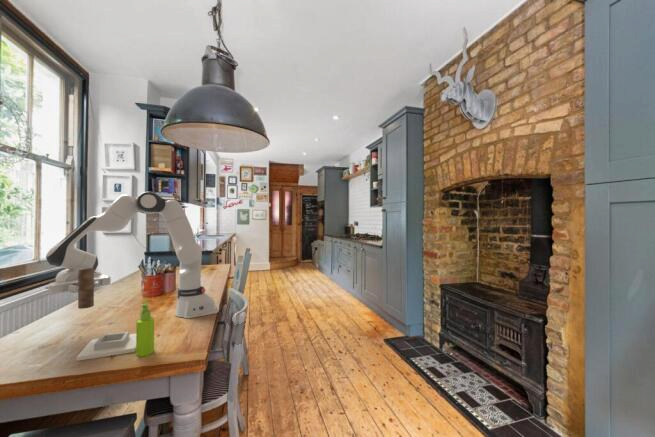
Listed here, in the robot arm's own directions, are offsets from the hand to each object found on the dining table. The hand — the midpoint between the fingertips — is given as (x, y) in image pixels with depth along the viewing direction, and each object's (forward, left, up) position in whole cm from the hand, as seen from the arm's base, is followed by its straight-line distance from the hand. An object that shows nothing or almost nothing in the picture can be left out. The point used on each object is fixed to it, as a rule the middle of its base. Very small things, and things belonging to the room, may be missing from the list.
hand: (86, 286), depth 118 cm
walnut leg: (0, -1, -9) cm, 9 cm away
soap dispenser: (-24, +19, -24) cm, 39 cm away
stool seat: (-11, +8, -24) cm, 27 cm away
